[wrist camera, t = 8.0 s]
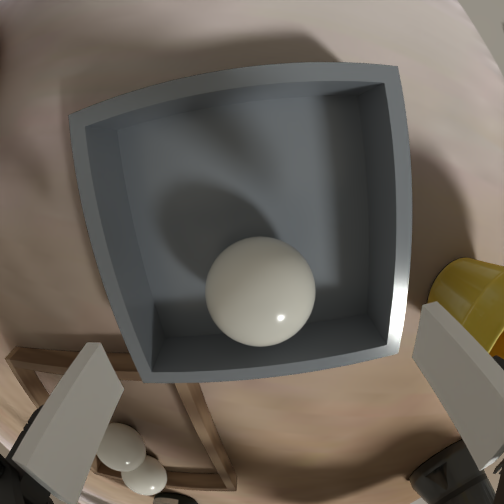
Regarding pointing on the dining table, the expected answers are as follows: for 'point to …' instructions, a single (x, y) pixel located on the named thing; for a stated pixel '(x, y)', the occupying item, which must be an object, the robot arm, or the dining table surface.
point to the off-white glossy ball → (260, 291)
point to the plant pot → (474, 300)
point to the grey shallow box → (250, 210)
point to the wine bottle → (172, 499)
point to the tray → (125, 369)
